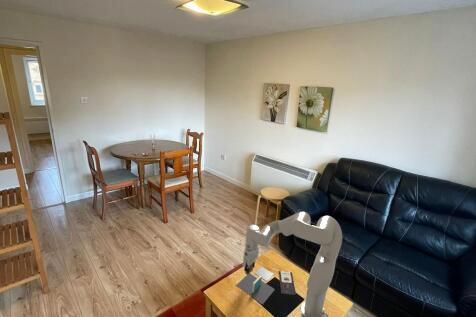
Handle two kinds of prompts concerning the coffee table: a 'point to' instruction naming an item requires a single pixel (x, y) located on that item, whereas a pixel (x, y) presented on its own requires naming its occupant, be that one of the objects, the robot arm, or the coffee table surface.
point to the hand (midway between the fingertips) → (249, 268)
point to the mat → (260, 293)
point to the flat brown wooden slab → (250, 268)
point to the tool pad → (264, 273)
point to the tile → (256, 284)
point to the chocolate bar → (287, 283)
